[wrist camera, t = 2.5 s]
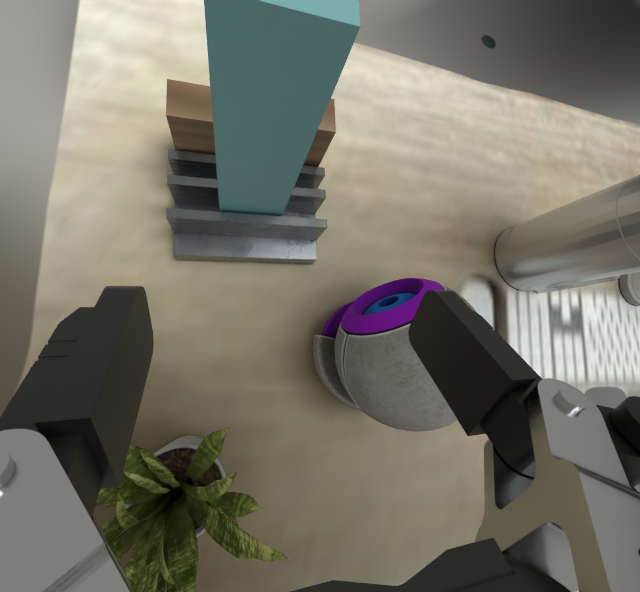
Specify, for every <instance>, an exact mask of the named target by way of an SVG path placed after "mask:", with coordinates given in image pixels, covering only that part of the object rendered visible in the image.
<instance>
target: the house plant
mask: <svg viewBox="0 0 640 592" xmlns="http://www.w3.org/2000/svg"><path fill="white" fill-rule="evenodd" d="M228 429H229V427H228V428H227V429H225V430H220V431H215V432H212V433H211V434H210V435H208V436H207V437H206V438H205V439H204V438H201V437H198V436H192V435H187V436H182V437H180V438H178V439H176V440H174V441H172V442H171V443H169V444H168V445H166V446H164V447H163V448H161V449H160V450H158V451H157V452H155V453H154V454H152V453H151V452H150V451H148V450H146V449H143V448H140V447H137V446H134V445H132V444H130V446H129V450H128V454H127V458H126V462H125V466H124V470H123V474H122V478H121V482H120V486H118V487H111V488H104V489H100V491H99V495H98V498H97V502H96V505H97V506H102V507H109V506H115V505H116V513H117V515H116V516H115V517H113V518H112V519H110V520H109V521H107V522H105V523H104V524H102V525H100V526H99V528H100V530H101V531H102V533H103V535H104V537H105V539H106V540H107V542H108V544H109V546H110V547H111V549H112V551H113V553H114V555H115V556H116V558H117V560H118V559H119V558H120V557H121V556H122V555H123V554H124V553H125V552H126V551H127V550H128V549H129V548H131V547H132V546H133V545H134V544H135V543H136V542H137V541H138V540H139V541H138V543H137V544H136V546H135V548H134V551H133V553H132V555H131V557H130V559H129V562H128V564H127V566H126V568H125V569H124V573H125V574H126V576H127V578H128V580H129V581H130V583H131V585H132V587H133V589H134V590H135V592H165V586H166V582H167V592H195V580H196V573H197V564H198V546H197V537H199V536H200V535H202V534H203V533H204V532H205V531H207V532H208V533H209V535H210V536H211V537H212V538H213V539H214V540H215V541H216V542H217V543H218V544H219V545H220V546H221V547H223V548H224V549H225V550H226V551H228V552H229V553H231V554H232V555H234V556H235V557H237V558H256V559H260V560H263V561H269V562H273V561H276V560H279V559H283V558H286V559H288V558H287V557H286V556H285V555H283V554H282V553H280V552H278V551H276V550H274V549H272V548H270V547H269V546H267V545H266V544H264V543H262V542H261V541H259V540H257V539H255V538H254V537H252V536H251V535H249V534H248V533H246V532H245V531H243V530H241V529H240V528H239V525H238V523H237V520H236V518H235V517H240V516H244V515H247V514H250V513H252V512H254V511H256V510H258V509H261V508H262V507H259V505H258V504H257V503H256V501H255V500H254V499H253V498H252V497H250V496H248V495H246V494H242V493H236V492H226V491H227V490H228V489H229V487H230V486H231V484H232V481H233V479H234V477H235V475H236V472H235V473H233V474H229V475H228V476H227V477H226V474H225V472H224V469H223V467H222V464H221V462H220V460H219V458H218V456H219V453H220V451H221V449H222V445H223V441H224V438H225V435H226V432H227V430H228ZM129 527H130V528H129ZM126 528H129V529H128V530H126V531H125V532H124V533H122V534H121V535H120V536H118V535H119V534H120V533H121V532H122V531H124V530H125V529H126ZM116 536H118V537H117V538H116V539H114V538H115V537H116ZM113 539H114V540H113ZM112 540H113V541H112ZM288 560H289V559H288Z"/></svg>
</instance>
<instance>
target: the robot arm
mask: <svg viewBox="0 0 640 592" xmlns="http://www.w3.org/2000/svg"><path fill="white" fill-rule="evenodd" d="M495 259H496V263H497V267H498V269H499V271H500V273H501V275H502V277H503V278H504V279H505V281H506V282H507V283H508V284H510V285H511V286H512V287H514V288H516V289H518V290H521V291H531V290H534V291H536V292H538V293H543V292H550V291H556V290H562V289H568V288H574V287H581V286H587V285H593V284H599V283H605V282H612V281H616V280H618V279H619V278H620V276H621V275H624V274H629V273H635V272H640V175H638V176H635V177H633V178H631V179H628V180H626V181H623V182H621V183H618V184H616V185H614V186H611V187H609V188H606V189H604V190H601V191H599V192H596V193H594V194H592V195H589V196H587V197H584V198H582V199H579V200H577V201H575V202H572V203H570V204H567V205H565V206H562V207H560V208H557V209H555V210H553V211H550V212H548V213H545V214H543V215H540V216H538V217H535V218H533V219H531V220H528V221H526V222H523V223H521V224H518V225H516V226H514V227H511V228H509V229H507V230H505V231H504V232H503V233H502V234H501V235H500V236H499V238H498V240H497V243H496V247H495ZM408 335H409V341H410V344H411V346H412V347H413V349H414V351H415V352H416V354H417V355H418V357H419V359H420V360H421V362H422V363H423V365H424V367H425V368H426V370H427V371H428V373H429V375H430V376H431V378H432V379H433V381H434V383H435V384H436V386H437V387H438V389H439V391H440V392H441V394H442V395H443V397H444V399H445V400H446V402H447V403H448V405H449V407H450V408H451V410H452V411H453V413H454V415H455V416H456V418H457V419H458V421H459V423H460V424H461V426H462V427H463V429H464V431H465V432H466V434H467V435H468V436H472V435H479V434H486V435H487V436H488V438H489V439H488V440H487V442H486V443H485V446H484V494H485V512H484V518H483V521H482V524H481V526H480V528H479V530H478V533H477V536H476V540H475V542H474V543H471V544H467V545H463V546H459V547H456V548H452V549H448V550H446V551H445V552H444V553H442V554H441V555H440V556H439V557H437V558H436V559H435V560H434V561H432V562H431V563H430V564H428V565H427V566H426V567H425V568H423V569H422V570H421V571H420V572H418V573H417V574H416V575H414V576H413V577H412V578H411V579H409V580H408V581H407V582H406V583H404V584H402V585H399V586H389V585H378V584H367V583H356V582H346V581H335V580H332V581H329V582H325V583H321V584H317V585H314V586H310V587H306V588H302V589H299V590H295V591H291V592H575V591H578V590H579V592H640V492H638V491H637V490H636V489H635V488H634V487H635V486H636V485H638V484H640V397H636V396H631V397H628V398H626V399H625V400H624V401H623V402H622V403H621V404H619V405H618V406H617V407H616V408H615V409H613V408H608V407H604V406H599V405H595V404H594V403H593V402H592V401H591V400H590V399H589V398H588V397H587V396H586V395H585V394H583V393H582V392H581V391H579V390H578V389H576V388H575V387H573V386H571V385H569V384H567V383H565V382H562V381H559V380H556V379H550V378H548V379H542V378H541V377H540V376H539V375H538V374H537V373H536V372H535V371H534V370H533V369H532V368H531V367H530V366H529V365H528V364H527V363H526V362H525V361H524V360H523V359H522V358H521V357H520V356H519V355H518V354H517V353H516V351H515V350H514V349H513V348H512V347H511V346H510V345H509V344H508V343H507V342H506V341H503V340H502V337H501V336H500V335H499V334H498V333H497V332H496V331H495V330H493V328H492V327H491V326H490V324H489V323H488V322H487V321H486V320H485V319H484V318H483V317H482V316H481V315H479V314H478V313H476V312H475V311H473V310H472V309H471V308H470V307H469V306H468V305H467V304H466V303H465V302H464V301H463V300H462V299H461V298H460V297H459V296H458V295H457V294H456V293H455V292H454V291H451V290H429V291H427V292H426V293H425V294H424V295H423V297H422V300H421V302H420V304H419V306H418V309H417V311H416V313H415V315H414V317H413V320H412V322H411V324H410V327H409V332H408ZM152 354H153V330H152V325H151V319H150V314H149V308H148V303H147V297H146V292H145V289H144V288H143V287H142V286H107V287H105V289H104V290H103V292H102V294H101V296H100V298H99V300H98V302H97V304H96V305H95V307H80V308H78V309H77V310H76V311H75V312H73V313H72V314H71V315H69V316H68V317H67V318H65V319H64V320H63V321H61V322H60V323H59V324H58V326H57V328H56V329H55V331H54V332H53V334H52V336H51V337H50V339H49V340H48V345H45V347H44V348H43V350H42V352H41V353H40V355H39V356H38V358H39V359H38V361H35V363H34V364H33V366H32V368H31V369H30V371H29V372H28V374H27V376H26V377H25V379H24V380H23V382H22V384H21V385H20V387H19V388H18V390H17V392H16V393H15V395H14V396H13V398H12V400H11V401H10V403H9V404H8V406H7V408H6V409H5V411H4V412H3V414H2V416H1V417H0V592H135V590H134V589H133V587H132V585H131V583H130V581H129V580H128V578H127V576H126V574H125V573H124V571H123V569H122V567H121V565H120V564H119V562H118V560H117V558H116V556H115V555H114V553H113V551H112V549H111V547H110V546H109V544H108V542H107V540H106V539H105V537H104V535H103V533H102V531H101V530H100V528H99V526H98V524H97V522H96V521H95V519H94V517H93V512H94V508H95V505H96V502H97V498H98V495H99V491H100V489H104V488H111V487H118V486H120V482H121V478H122V474H123V470H124V466H125V462H126V458H127V454H128V450H129V446H130V442H131V438H132V434H133V430H134V426H135V422H136V418H137V414H138V410H139V406H140V402H141V398H142V394H143V390H144V386H145V382H146V378H147V374H148V370H149V366H150V363H151V359H152Z"/></svg>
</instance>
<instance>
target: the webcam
mask: <svg viewBox="0 0 640 592" xmlns="http://www.w3.org/2000/svg"><path fill="white" fill-rule="evenodd" d="M429 290H451V289H449V288H447V287H445V286H443V285H441V284H439V283H437V282H435V281H431V280H426V279H417V278H407V279H400V280H395V281H392V282H389V283H386V284H383V285H380V286H378V287H376V288H373V289H372V290H370V291H368V292H366V293H364V294H363V295H361V296H360V297H359V298H357V299H356V300H355V301H353V302H351V303H348V304H346V305H344V306H342V307H341V308H340V309H338V310H337V311H336V312H335V313H334V314H333V315H332V316H331V318H330V319H329V321H328V322H327V324H326V326H325V328H324V331H323V334H322V335H314V342H313V357H314V363H315V367H316V370H317V373H318V375H319V378H320V380H321V381H322V383H323V385H324V386H325V387H326V389H327V390H328V391H329V392H330V393H331V394H332V395H333V396H334V397H335V398H337V399H338V400H340V401H341V402H343V403H345V404H347V405H349V406H351V407H354V408H358V409H361V410H362V411H363V412H364V413H366V414H367V415H368V416H370V417H371V418H373V419H375V420H376V421H378V422H380V423H383V424H385V425H387V426H390V427H393V428H396V429H401V430H406V431H428V430H434V429H438V428H441V427H444V426H447V425H449V424H451V423H453V422H455V421H457V420H458V419H457V418H456V416H455V415H454V413H453V411H452V410H451V408H450V407H449V405H448V403H447V402H446V400H445V399H444V397H443V395H442V394H441V392H440V391H439V389H438V387H437V386H436V384H435V383H434V381H433V379H432V378H431V376H430V375H429V373H428V371H427V370H426V368H425V367H424V365H423V363H422V362H421V360H420V359H419V357H418V355H417V354H416V352H415V351H414V349H413V347H412V346H411V344H410V341H409V335H408V332H409V327H410V324H411V322H412V320H413V317H414V315H415V313H416V311H417V309H418V306H419V304H420V302H421V300H422V297H423V295H424V294H425V293H426V292H427V291H429ZM451 291H453V290H451ZM454 292H455V291H454ZM455 293H456V292H455ZM456 294H457V293H456ZM457 295H458V296H459V297H460V298H461V299H462V300H463V301H464V302H465V303H466V304H467V305H468V306H469V307H470V308H471V309H472V310H473V311H475V310H474V308H473V307H472V306H471V305H470V304H469V303H468V302H467V301H466V300H465V299H464V298H463V297H461V296H460V295H459V294H457ZM475 312H476V311H475ZM476 313H477V312H476Z"/></svg>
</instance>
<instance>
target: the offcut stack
mask: <svg viewBox="0 0 640 592" xmlns="http://www.w3.org/2000/svg"><path fill="white" fill-rule="evenodd" d="M166 116H167V120H168V124H169V127H170V131H171V134H172V138H173V142H174V145H175V149H176V150H177V151H185V152H194V153H202V154H210V155H215V141H214V127H213V114H212V100H211V87H209V86H204V85H198V84H192V83H187V82H181V81H175V80H170V79H167V103H166ZM335 133H336V127H335V107H334V99H330V101H329V103H328V106H327V108H326V111H325V113H324V116H323V118H322V120H321V123H320V125H319V128H318V130H317V132H316V135H315V137H314V140H313V142H312V145H311V147H310V149H309V152H308V154H307V157H306V159H305V161H304V164H303V166H311V167H318V166H319V164H320V162H321V160H322V158H323V156H324V154H325V152H326V150H327V148H328V146H329V144H330V142H331V140H332V138H333V136H334V135H335Z"/></svg>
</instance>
